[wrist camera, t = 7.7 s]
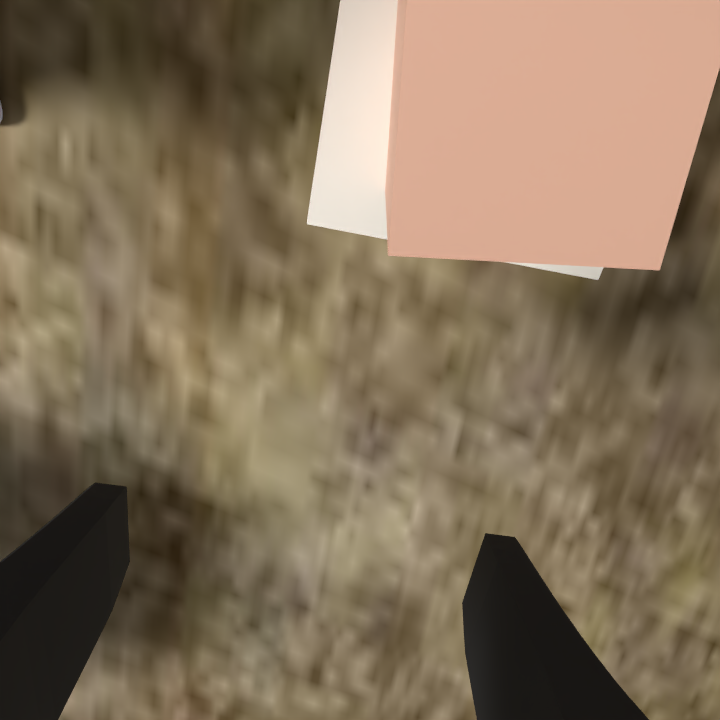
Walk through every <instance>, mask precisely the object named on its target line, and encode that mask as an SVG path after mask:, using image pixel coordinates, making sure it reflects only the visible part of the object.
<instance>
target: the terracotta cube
mask: <svg viewBox="0 0 720 720" xmlns="http://www.w3.org/2000/svg"><path fill="white" fill-rule="evenodd" d="M719 68H720V0H398V5H397V20H396V35H395V50H394V65H393V80H392V95H391V110H390V125H389V140H388V155H387V169H386V184H385V200H386V221H387V242H388V256H405V257H424V258H442V259H461V260H479V261H497V262H516V263H534V264H553V265H571V266H590V267H608V268H626V269H645V270H660V268H661V264H662V261H663V257H664V254H665V251H666V247H667V244H668V241H669V237H670V234H671V230H672V227H673V224H674V220H675V217H676V214H677V210H678V207H679V203H680V200H681V197H682V193H683V190H684V187H685V183H686V180H687V176H688V173H689V170H690V166H691V163H692V160H693V156H694V153H695V149H696V146H697V143H698V139H699V136H700V133H701V129H702V126H703V122H704V119H705V116H706V112H707V109H708V106H709V102H710V99H711V95H712V92H713V89H714V85H715V82H716V79H717V75H718V72H719Z"/></svg>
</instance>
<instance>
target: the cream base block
mask: <svg viewBox="0 0 720 720" xmlns="http://www.w3.org/2000/svg"><path fill="white" fill-rule="evenodd" d="M397 5H398V0H340V6H339V13H338V19H337V26H336V32H335V39H334V46H333V52H332V59H331V66H330V72H329V79H328V86H327V92H326V99H325V105H324V112H323V119H322V125H321V132H320V139H319V145H318V152H317V159H316V165H315V172H314V179H313V185H312V192H311V198H310V205H309V212H308V218H307V224H309V225H315V226H320V227H325V228H330V229H335V230H341V231H346V232H351V233H356V234H361V235H367V236H372V237H377V238H382V239H387V221H386V200H385V184H386V169H387V155H388V140H389V125H390V110H391V95H392V80H393V65H394V50H395V35H396V20H397ZM507 263H512V264H517V265H523V266H528V267H533V268H538V269H543V270H549V271H554V272H559V273H564V274H569V275H575V276H580V277H585V278H590V279H595V280H599V277H600V275H601V272H602V270H603V267H590V266H571V265H553V264H534V263H516V262H507Z"/></svg>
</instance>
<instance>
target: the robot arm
mask: <svg viewBox="0 0 720 720" xmlns="http://www.w3.org/2000/svg"><path fill="white" fill-rule="evenodd" d="M2 118H3V111H2V106H1V102H0V123H1V121H2ZM129 562H130V557H129V533H128V509H127V487H125V486H117V485H109V484H102V483H94V484H93V485H91V486H90V487H89V488H88V489H86V490H85V491H84V492H83V493H82V494H81V495H79V496H78V497H77V498H76V499H75V500H74V501H73V502H71V503H70V504H69V505H68V506H67V507H66V508H65V509H63V510H62V511H61V512H60V513H59V514H58V515H56V516H55V517H54V518H53V519H52V520H51V521H49V522H48V523H47V524H46V525H45V526H44V527H42V528H41V529H40V530H39V531H38V532H36V533H35V534H34V535H33V536H31V537H30V538H29V539H28V540H27V541H25V542H24V543H23V544H22V545H20V546H19V547H18V548H17V549H15V550H14V551H13V552H12V553H11V554H9V555H8V556H7V557H6V558H4V559H3V560H2V561H1V562H0V720H58V719H59V717H60V715H61V713H62V711H63V709H64V707H65V705H66V703H67V701H68V699H69V697H70V695H71V693H72V691H73V689H74V687H75V685H76V683H77V681H78V679H79V677H80V675H81V673H82V671H83V669H84V667H85V665H86V663H87V661H88V659H89V657H90V655H91V653H92V651H93V649H94V646H95V644H96V642H97V640H98V638H99V636H100V634H101V632H102V630H103V628H104V626H105V624H106V622H107V620H108V618H109V616H110V614H111V612H112V609H113V607H114V604H115V601H116V598H117V596H118V593H119V590H120V588H121V585H122V582H123V579H124V576H125V573H126V570H127V568H128V565H129ZM462 605H463V625H464V640H465V654H466V660H467V666H468V671H469V677H470V683H471V689H472V694H473V700H474V705H475V711H476V716H477V720H649V719H648V718H647V717H646V716H645V715H644V714H643V712H642V711H641V710H640V709H639V708H638V707H637V706H636V705H635V703H634V702H633V701H632V700H631V699H630V698H629V697H628V695H627V694H626V693H625V692H624V691H623V689H622V688H621V687H620V686H619V685H618V683H617V682H616V681H615V680H614V678H613V677H612V676H611V675H610V673H609V672H608V671H607V670H606V668H605V667H604V666H603V664H602V663H601V662H600V660H599V659H598V658H597V657H596V655H595V654H594V653H593V651H592V650H591V649H590V647H589V646H588V645H587V643H586V642H585V641H584V639H583V638H582V636H581V635H580V634H579V632H578V631H577V629H576V628H575V626H574V625H573V624H572V622H571V621H570V619H569V618H568V617H567V615H566V614H565V612H564V611H563V609H562V608H561V607H560V605H559V604H558V602H557V601H556V599H555V598H554V596H553V595H552V593H551V592H550V590H549V589H548V587H547V586H546V584H545V582H544V581H543V579H542V578H541V576H540V575H539V573H538V572H537V570H536V569H535V567H534V565H533V564H532V562H531V561H530V559H529V558H528V556H527V554H526V553H525V551H524V550H523V548H522V547H521V545H520V544H519V542H518V541H517V539H516V538H515V537H510V536H502V535H494V534H487V533H485V536H484V539H483V542H482V545H481V548H480V551H479V554H478V557H477V560H476V563H475V566H474V569H473V572H472V575H471V578H470V581H469V584H468V587H467V590H466V593H465V596H464V599H463V602H462Z"/></svg>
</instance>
